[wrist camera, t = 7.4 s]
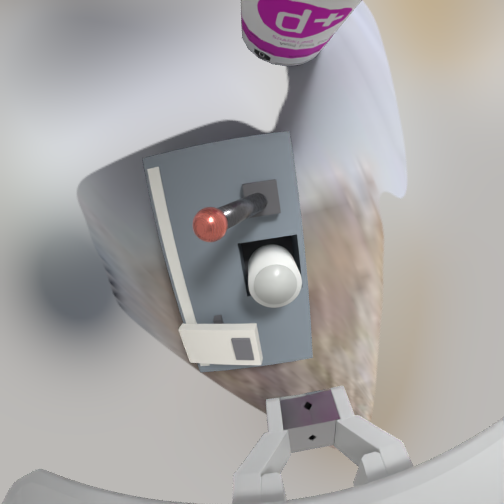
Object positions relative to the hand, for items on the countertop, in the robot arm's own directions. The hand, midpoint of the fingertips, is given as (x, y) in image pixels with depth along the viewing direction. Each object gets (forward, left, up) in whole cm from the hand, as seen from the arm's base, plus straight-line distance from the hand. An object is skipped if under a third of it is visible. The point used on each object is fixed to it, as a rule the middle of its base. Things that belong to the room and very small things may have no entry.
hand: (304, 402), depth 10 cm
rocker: (+7, -6, -13) cm, 16 cm away
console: (+1, -3, -20) cm, 21 cm away
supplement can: (-21, +5, -20) cm, 30 cm away
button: (0, 0, -15) cm, 15 cm away
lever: (-5, 0, -14) cm, 15 cm away
